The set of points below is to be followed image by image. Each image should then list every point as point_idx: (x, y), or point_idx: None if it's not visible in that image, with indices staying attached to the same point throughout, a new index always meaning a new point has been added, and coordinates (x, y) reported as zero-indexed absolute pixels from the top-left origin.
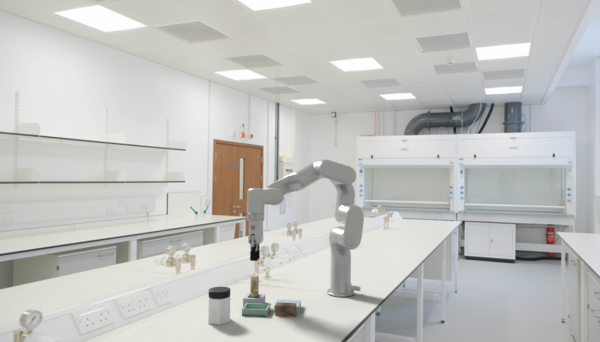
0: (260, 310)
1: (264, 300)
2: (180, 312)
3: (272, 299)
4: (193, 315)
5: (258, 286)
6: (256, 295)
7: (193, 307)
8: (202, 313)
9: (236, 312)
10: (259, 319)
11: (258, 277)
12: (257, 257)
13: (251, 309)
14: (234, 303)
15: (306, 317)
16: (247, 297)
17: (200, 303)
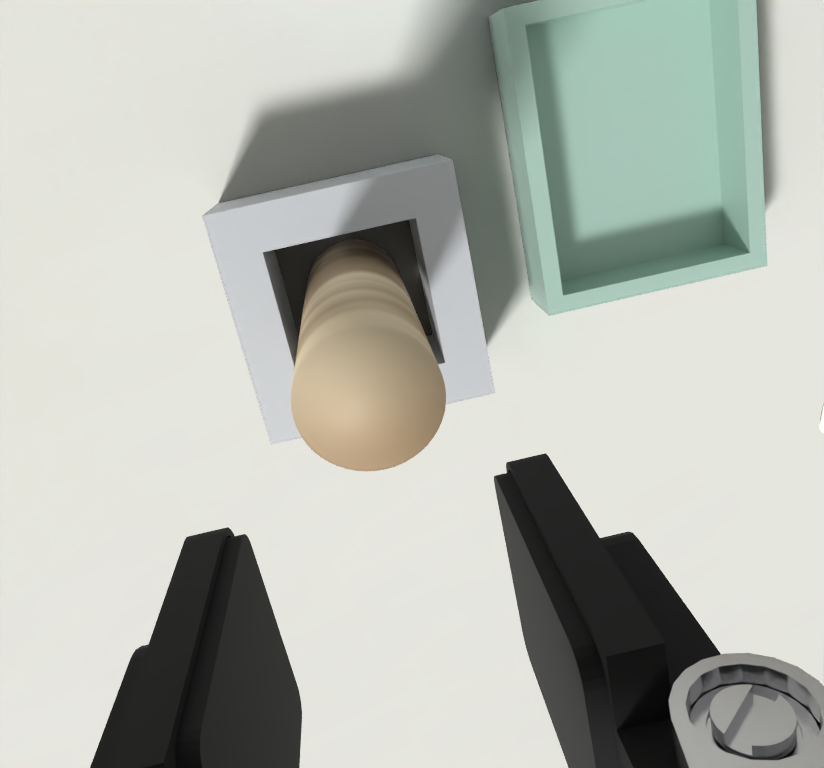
0: (752, 43)
1: (259, 196)
2: None
3: (70, 155)
4: (802, 628)
5: (349, 286)
6: (391, 270)
7: None
8: (743, 595)
9: (656, 344)
10: (819, 16)
11: (365, 321)
12: (573, 499)
13: (762, 156)
14: (393, 491)
15: None
16: None
17: (495, 742)
